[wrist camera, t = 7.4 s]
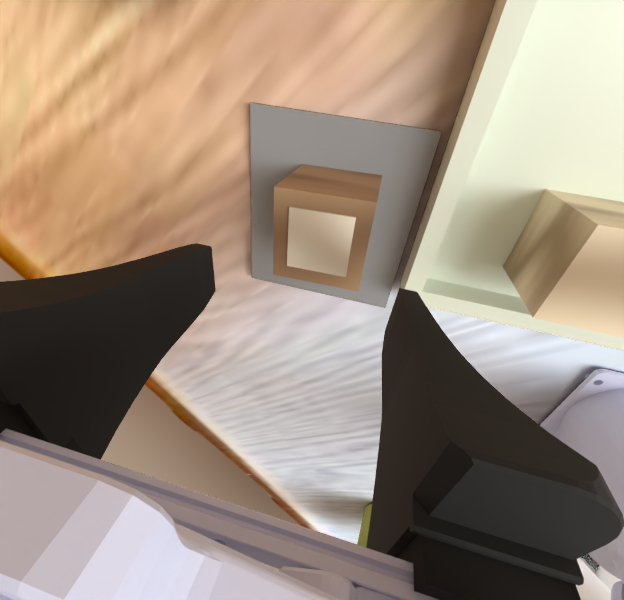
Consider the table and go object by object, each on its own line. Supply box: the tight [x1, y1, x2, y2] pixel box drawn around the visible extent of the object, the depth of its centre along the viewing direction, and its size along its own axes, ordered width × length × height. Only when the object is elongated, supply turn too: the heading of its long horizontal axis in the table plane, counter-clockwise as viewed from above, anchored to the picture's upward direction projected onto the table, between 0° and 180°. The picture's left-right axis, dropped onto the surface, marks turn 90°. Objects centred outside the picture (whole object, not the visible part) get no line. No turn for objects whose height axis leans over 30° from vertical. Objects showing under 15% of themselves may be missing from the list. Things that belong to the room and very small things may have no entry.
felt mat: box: [250, 103, 442, 308], centre depth 19 cm, size 11×10×1 cm
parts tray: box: [400, 0, 624, 351], centre depth 14 cm, size 17×15×2 cm
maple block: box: [503, 189, 624, 338], centre depth 14 cm, size 4×4×5 cm
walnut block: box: [273, 164, 382, 291], centre depth 16 cm, size 4×4×5 cm
